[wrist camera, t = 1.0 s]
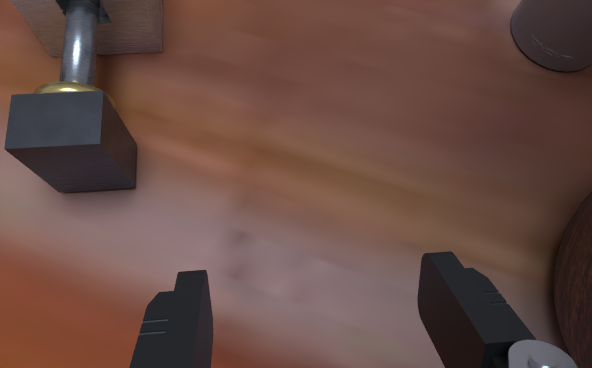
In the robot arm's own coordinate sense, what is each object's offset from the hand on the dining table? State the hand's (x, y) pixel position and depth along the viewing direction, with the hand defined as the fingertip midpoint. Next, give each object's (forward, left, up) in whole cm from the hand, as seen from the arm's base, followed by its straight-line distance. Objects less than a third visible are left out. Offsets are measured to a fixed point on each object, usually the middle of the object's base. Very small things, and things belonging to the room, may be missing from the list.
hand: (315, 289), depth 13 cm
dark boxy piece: (-8, -25, -24) cm, 35 cm away
